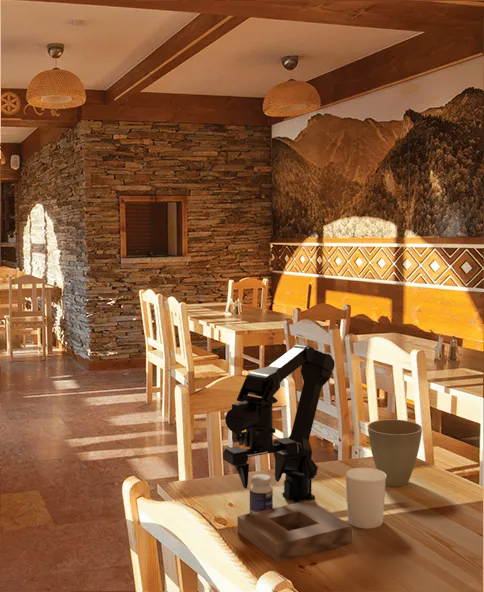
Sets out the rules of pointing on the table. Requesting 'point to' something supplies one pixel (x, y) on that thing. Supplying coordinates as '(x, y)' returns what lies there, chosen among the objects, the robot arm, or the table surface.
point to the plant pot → (395, 448)
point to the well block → (290, 544)
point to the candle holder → (365, 497)
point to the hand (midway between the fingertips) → (261, 484)
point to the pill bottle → (261, 493)
